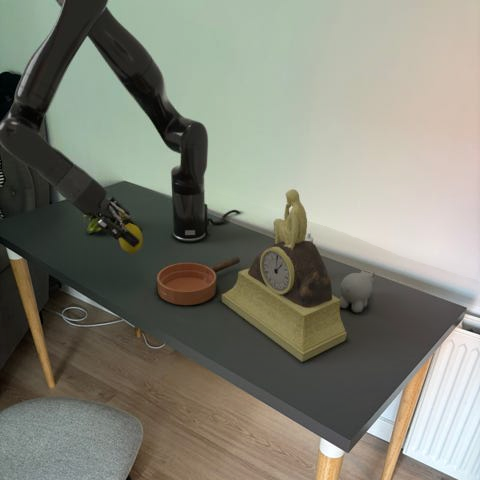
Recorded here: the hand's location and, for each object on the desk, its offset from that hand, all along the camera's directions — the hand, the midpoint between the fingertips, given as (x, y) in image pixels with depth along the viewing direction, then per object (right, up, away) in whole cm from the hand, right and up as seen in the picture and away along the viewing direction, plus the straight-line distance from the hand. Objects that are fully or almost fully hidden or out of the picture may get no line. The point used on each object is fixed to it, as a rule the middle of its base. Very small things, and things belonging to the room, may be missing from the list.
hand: (138, 238), depth 122 cm
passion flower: (-16, +8, +32) cm, 36 cm away
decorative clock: (+34, -20, -6) cm, 39 cm away
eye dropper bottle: (+41, -8, +12) cm, 44 cm away
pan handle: (+20, -6, +9) cm, 23 cm away
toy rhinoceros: (+53, -15, +2) cm, 55 cm away
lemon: (-2, -4, +2) cm, 5 cm away
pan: (+11, -12, +4) cm, 17 cm away
